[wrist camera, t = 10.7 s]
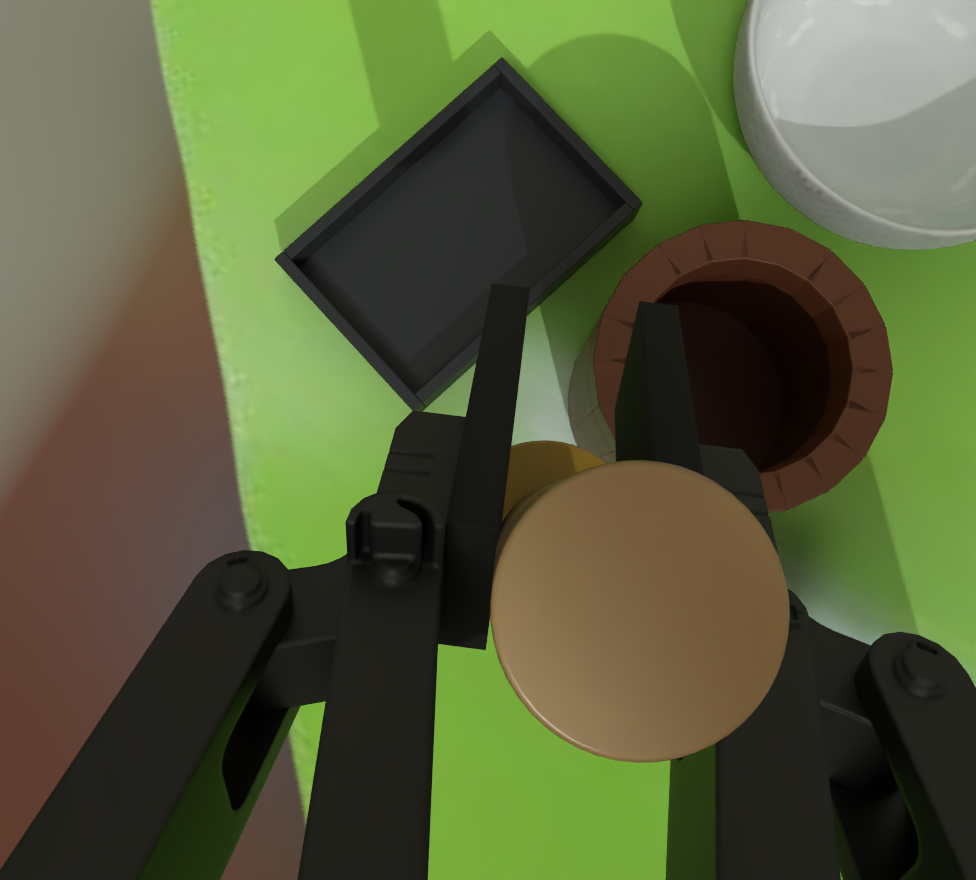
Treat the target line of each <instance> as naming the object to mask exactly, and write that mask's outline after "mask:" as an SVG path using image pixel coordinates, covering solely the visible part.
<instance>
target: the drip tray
mask: <svg viewBox="0 0 976 880" xmlns="http://www.w3.org/2000/svg"><path fill="white" fill-rule="evenodd" d="M641 205H642V202H641V200H640V199H639V198H638V197H637V196H636V195H635V194H634V193H633V192H632V191H631V190H630V189H629V188H628V187H627V186H626V185H625V184H624V183H623V182H622V181H621V180H620V179H619V178H618V177H617V176H616V175H615V174H614V172H613V171H612V170H611V169H610V168H609V167H608V166H607V165H606V164H605V163H604V162H603V161H602V160H601V159H600V158H599V157H598V156H597V155H596V154H595V153H594V152H593V151H592V150H591V149H590V148H589V147H588V146H587V144H586V143H585V142H584V141H583V140H582V139H581V138H580V137H579V136H578V135H577V134H576V133H575V132H574V131H573V130H572V129H571V128H570V127H569V126H568V125H567V124H566V123H565V122H564V121H563V120H562V119H561V118H560V116H559V115H558V114H557V113H556V112H555V111H554V110H553V109H552V108H551V107H550V106H549V105H548V104H547V103H546V102H545V101H544V100H543V99H542V98H541V97H540V96H539V95H538V94H537V93H536V92H535V91H534V90H533V88H532V87H531V86H530V85H529V84H528V83H527V82H526V81H525V80H524V79H523V78H522V77H521V76H520V75H519V74H518V73H517V72H516V71H515V70H514V69H513V68H512V67H511V66H510V65H509V64H508V63H507V62H506V61H505V59H504V58H500V59H499V60H498V61H497V62H496V63H495V64H494V65H493V66H491V67H490V68H489V69H488V70H487V71H486V72H485V73H484V74H482V75H481V76H480V77H479V78H478V79H477V80H476V81H474V82H473V83H472V84H471V85H470V86H469V87H468V88H467V89H465V90H464V91H463V92H462V93H461V94H460V95H459V96H458V97H456V98H455V99H454V100H453V101H452V102H451V103H450V104H449V105H447V106H446V107H445V108H444V109H443V110H442V111H441V112H439V113H438V114H437V115H436V116H435V117H434V118H433V119H432V120H430V121H429V122H428V123H427V124H426V125H425V126H424V127H423V128H421V129H420V130H419V131H418V132H417V133H416V134H415V135H414V136H412V137H411V138H410V139H409V140H408V141H407V142H406V143H405V144H403V145H402V146H401V147H400V148H399V149H398V150H397V151H395V152H394V153H393V154H392V155H391V156H390V157H389V158H388V159H386V160H385V161H384V162H383V163H382V164H381V165H380V166H379V167H377V168H376V169H375V170H374V171H373V172H372V173H371V174H370V175H368V176H367V177H366V178H365V179H364V180H363V181H362V182H360V183H359V184H358V185H357V186H356V187H355V188H354V189H353V190H351V191H350V192H349V193H348V194H347V195H346V196H345V197H344V198H342V199H341V200H340V201H339V202H338V203H337V204H336V205H335V206H333V207H332V208H331V209H330V210H329V211H328V212H327V213H326V214H324V215H323V216H322V217H321V218H320V219H319V220H318V221H316V222H315V223H314V224H313V225H312V226H311V227H310V228H309V229H307V230H306V231H305V232H304V233H303V234H302V235H301V236H300V237H298V238H297V239H296V240H295V241H294V242H293V243H292V244H291V245H289V246H288V247H287V248H286V249H285V250H284V252H282V253H280V254H279V255H278V256H277V257H276V258H275V261H276V262H277V263H278V264H279V265H280V266H281V268H282V269H283V270H284V271H285V272H286V273H287V274H288V275H289V276H290V277H291V279H292V280H293V281H294V282H295V283H296V284H297V285H298V286H299V287H300V288H301V289H302V291H303V292H304V293H305V294H306V295H307V296H308V297H309V298H310V299H311V300H312V301H313V303H314V304H315V305H316V306H317V307H318V308H319V309H320V310H321V311H322V312H323V313H324V315H325V316H326V317H327V318H328V319H329V320H330V321H331V322H332V323H333V324H334V325H335V327H336V328H337V329H338V330H339V331H340V332H341V333H342V334H343V335H344V336H345V337H346V339H347V340H348V341H349V342H350V343H351V344H352V345H353V346H354V347H355V348H356V349H357V351H358V352H359V353H360V354H361V355H362V356H363V357H364V358H365V359H366V360H367V361H368V363H369V364H370V365H371V366H372V367H373V368H374V369H375V370H376V371H377V372H378V373H379V375H380V376H381V377H382V378H383V379H384V380H385V381H386V382H387V383H388V384H389V385H390V387H391V388H392V389H393V390H394V391H395V392H396V393H397V394H398V395H399V396H400V397H401V399H402V400H403V401H404V402H405V403H406V404H407V405H408V406H409V407H410V408H411V409H412V411H421V412H422V411H423V410H424V409H425V408H427V407H428V406H429V405H430V404H431V403H432V402H433V401H434V400H435V399H436V398H438V397H439V396H440V395H441V394H442V393H443V392H444V391H445V390H446V389H447V388H449V387H450V386H451V385H452V384H453V383H454V382H455V381H456V380H457V379H458V378H460V377H461V376H462V375H463V374H464V373H465V372H466V371H467V370H468V369H469V368H471V367H472V366H473V365H474V364H475V363H476V362H477V357H478V352H479V347H480V342H481V336H482V331H483V326H484V321H485V316H486V311H487V305H488V300H489V295H490V290H491V285H492V283H494V284H502V285H510V286H519V287H527V288H530V292H529V301H528V309H527V316H528V315H529V314H530V313H531V312H532V311H533V310H534V309H535V308H537V307H538V306H539V305H540V304H541V303H542V302H543V301H544V300H545V299H546V298H548V297H549V296H550V295H551V294H552V293H553V292H554V291H555V290H556V289H557V288H559V287H560V286H561V285H562V284H563V283H564V282H565V281H566V280H567V279H568V278H570V277H571V276H572V275H573V274H574V273H575V272H576V271H577V270H578V269H579V268H581V267H582V266H583V265H584V264H585V263H586V262H587V261H588V260H589V259H590V258H592V257H593V256H594V255H595V254H596V253H597V252H598V251H599V250H600V249H601V248H603V247H604V246H605V245H606V244H607V243H608V242H609V241H610V240H611V239H612V238H614V237H615V236H616V235H617V234H618V233H619V232H620V231H621V230H622V229H623V228H625V227H626V226H627V225H628V224H629V223H630V222H631V221H632V220H633V219H634V218H635V217H636V215H637V213H638V211H639V209H640V207H641Z"/></svg>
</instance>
